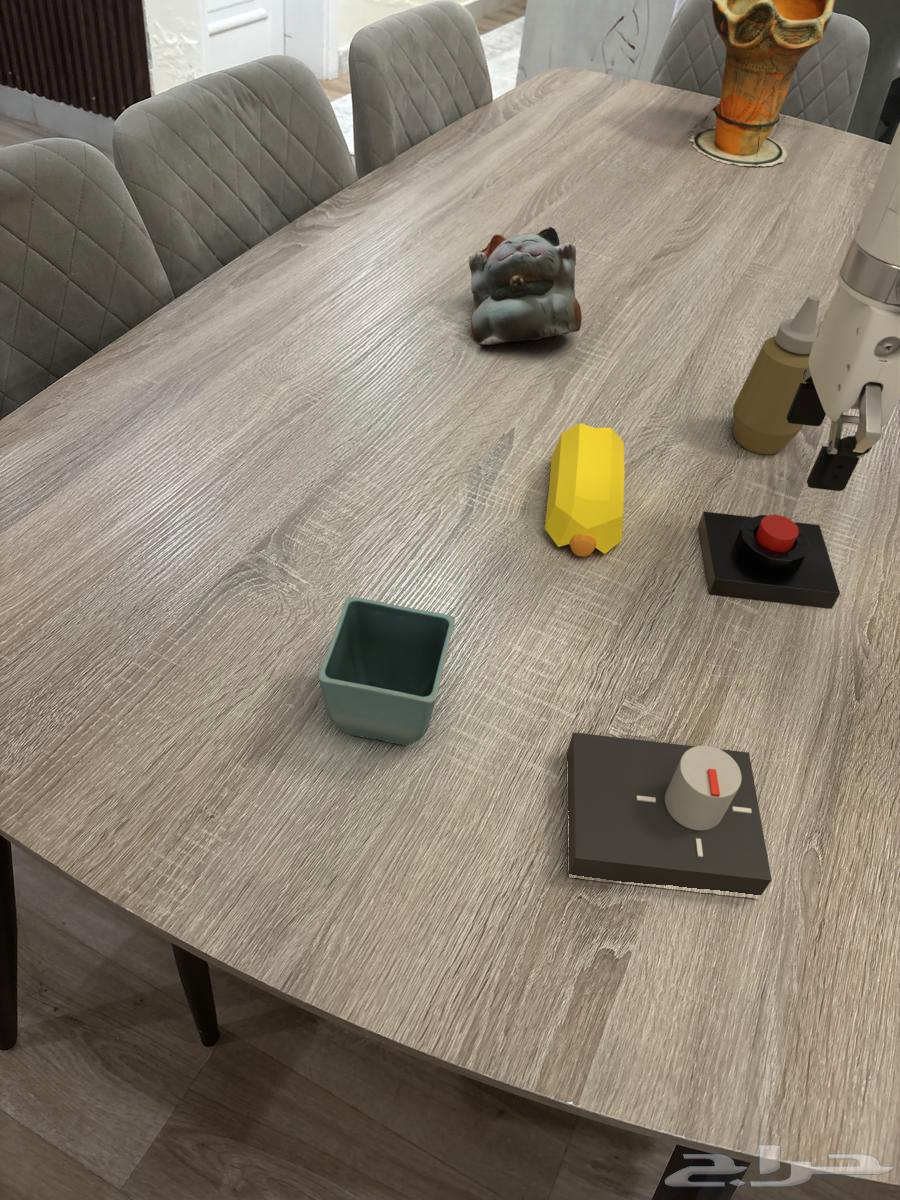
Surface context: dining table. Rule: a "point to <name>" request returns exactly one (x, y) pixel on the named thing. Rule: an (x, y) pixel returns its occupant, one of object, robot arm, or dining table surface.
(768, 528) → the button
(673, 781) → the burner knob
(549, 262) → the lucky cat figurine
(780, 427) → the squeeze bottle
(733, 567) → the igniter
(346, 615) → the flower pot
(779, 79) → the decorative vase
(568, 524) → the yellow faceted bar
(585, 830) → the panel
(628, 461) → the dining table surface
